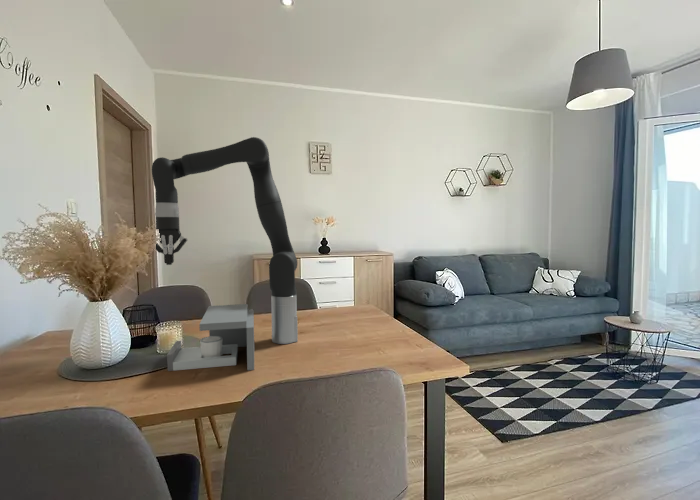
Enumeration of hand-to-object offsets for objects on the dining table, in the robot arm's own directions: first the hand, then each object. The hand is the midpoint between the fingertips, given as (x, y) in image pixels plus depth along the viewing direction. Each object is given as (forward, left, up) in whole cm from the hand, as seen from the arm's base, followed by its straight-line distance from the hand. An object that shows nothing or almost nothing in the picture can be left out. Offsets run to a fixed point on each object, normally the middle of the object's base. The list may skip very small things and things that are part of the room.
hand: (169, 264), depth 133 cm
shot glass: (-16, +21, -29) cm, 39 cm away
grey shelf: (-21, +20, -29) cm, 41 cm away
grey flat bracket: (-14, +20, -29) cm, 38 cm away
